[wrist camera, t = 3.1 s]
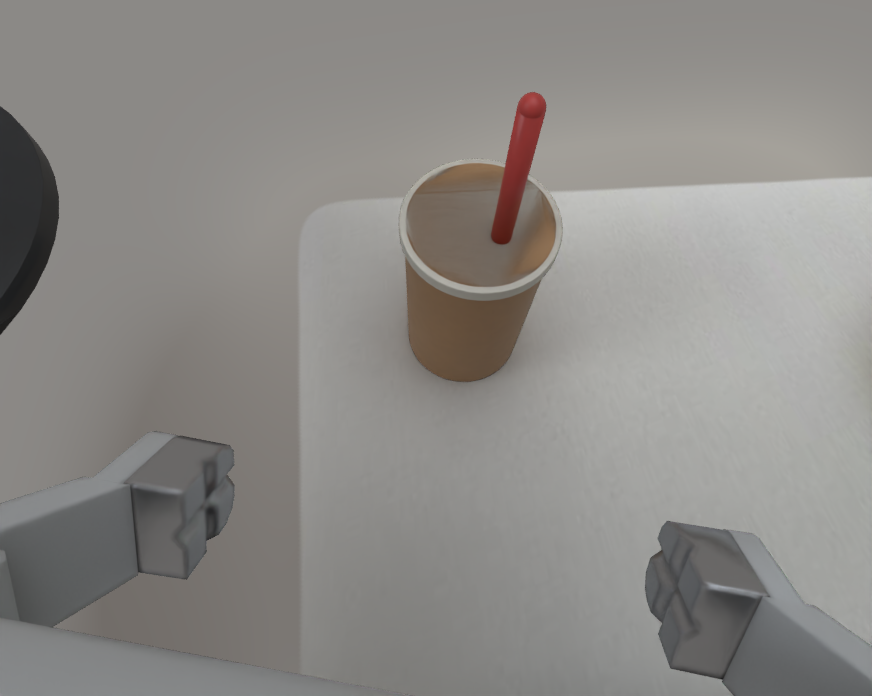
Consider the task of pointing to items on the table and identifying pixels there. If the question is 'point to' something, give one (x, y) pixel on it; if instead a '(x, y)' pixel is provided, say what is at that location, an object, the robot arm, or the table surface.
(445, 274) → the paper cup
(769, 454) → the table surface
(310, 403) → the table surface
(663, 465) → the table surface
